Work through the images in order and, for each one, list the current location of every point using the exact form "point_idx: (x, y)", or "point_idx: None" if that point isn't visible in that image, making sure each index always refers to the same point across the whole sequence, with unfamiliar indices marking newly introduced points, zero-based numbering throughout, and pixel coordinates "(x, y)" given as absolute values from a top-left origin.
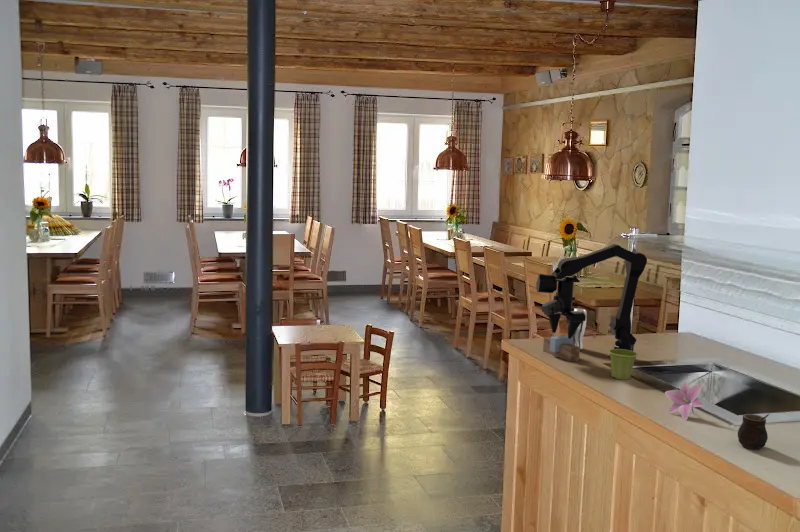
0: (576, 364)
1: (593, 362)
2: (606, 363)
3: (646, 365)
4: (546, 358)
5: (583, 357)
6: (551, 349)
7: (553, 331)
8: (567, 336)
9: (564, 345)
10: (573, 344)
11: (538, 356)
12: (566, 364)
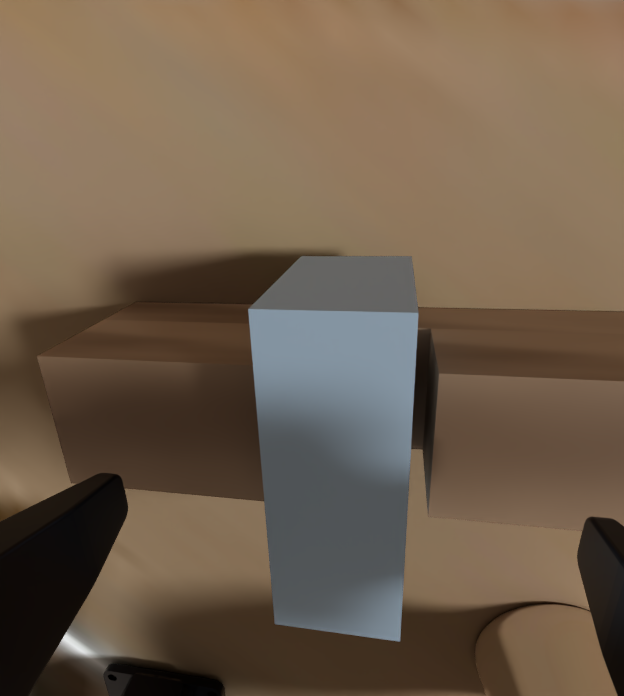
0: (43, 298)
1: None
2: None
3: None
4: (306, 120)
5: (252, 512)
6: (370, 260)
7: (596, 540)
8: (349, 597)
9: (174, 364)
10: (526, 661)
11: (423, 67)
12: (45, 196)
